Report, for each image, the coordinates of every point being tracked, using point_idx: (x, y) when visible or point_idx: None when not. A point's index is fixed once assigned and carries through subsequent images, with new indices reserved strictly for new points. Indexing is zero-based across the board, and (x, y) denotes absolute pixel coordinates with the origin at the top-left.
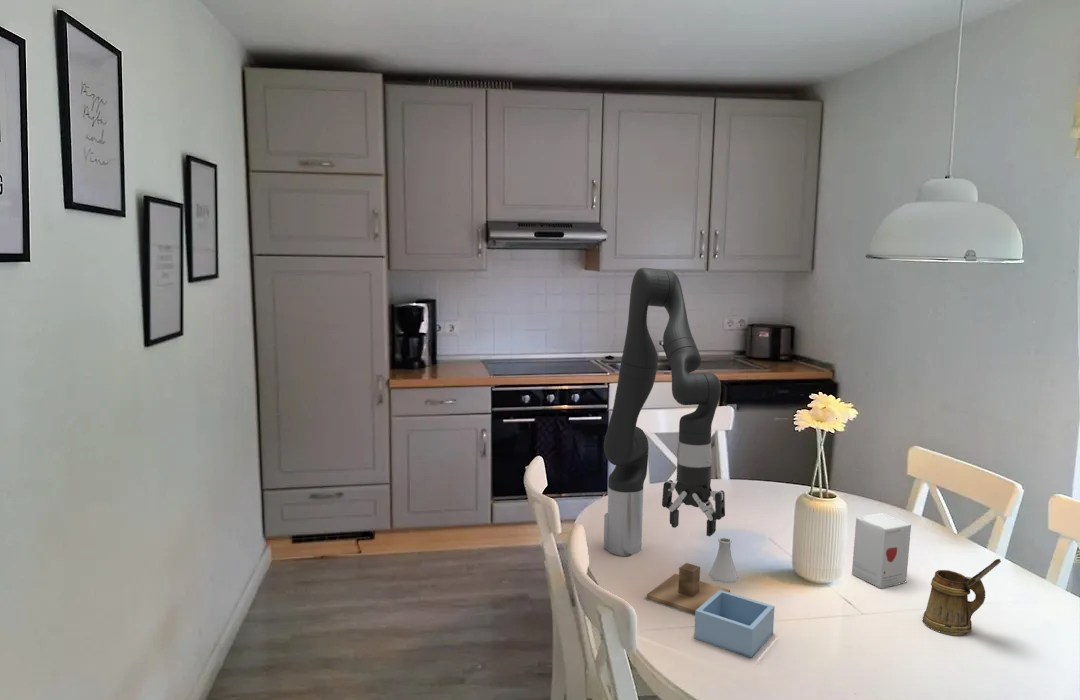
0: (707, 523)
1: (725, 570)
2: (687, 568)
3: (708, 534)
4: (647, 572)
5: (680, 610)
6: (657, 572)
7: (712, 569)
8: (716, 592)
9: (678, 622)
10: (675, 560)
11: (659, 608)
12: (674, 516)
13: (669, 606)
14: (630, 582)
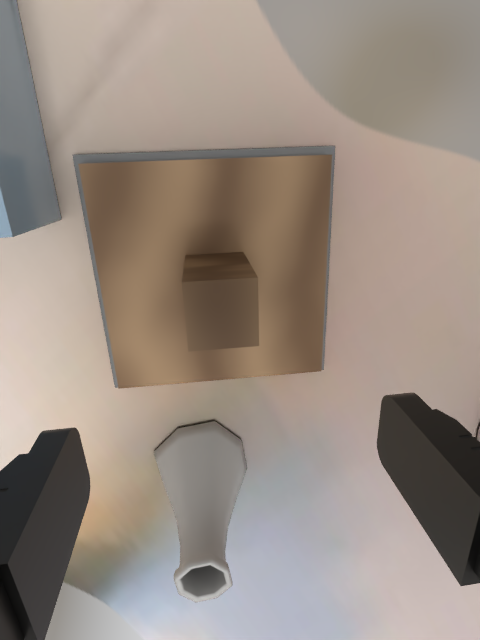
0: (13, 526)
1: (180, 468)
2: (224, 298)
3: (45, 434)
4: (408, 347)
5: (181, 157)
6: (381, 367)
7: (229, 459)
8: (1, 196)
9: (146, 79)
10: (368, 463)
11: (259, 137)
12: (450, 464)
13: (228, 156)
14: (429, 248)
